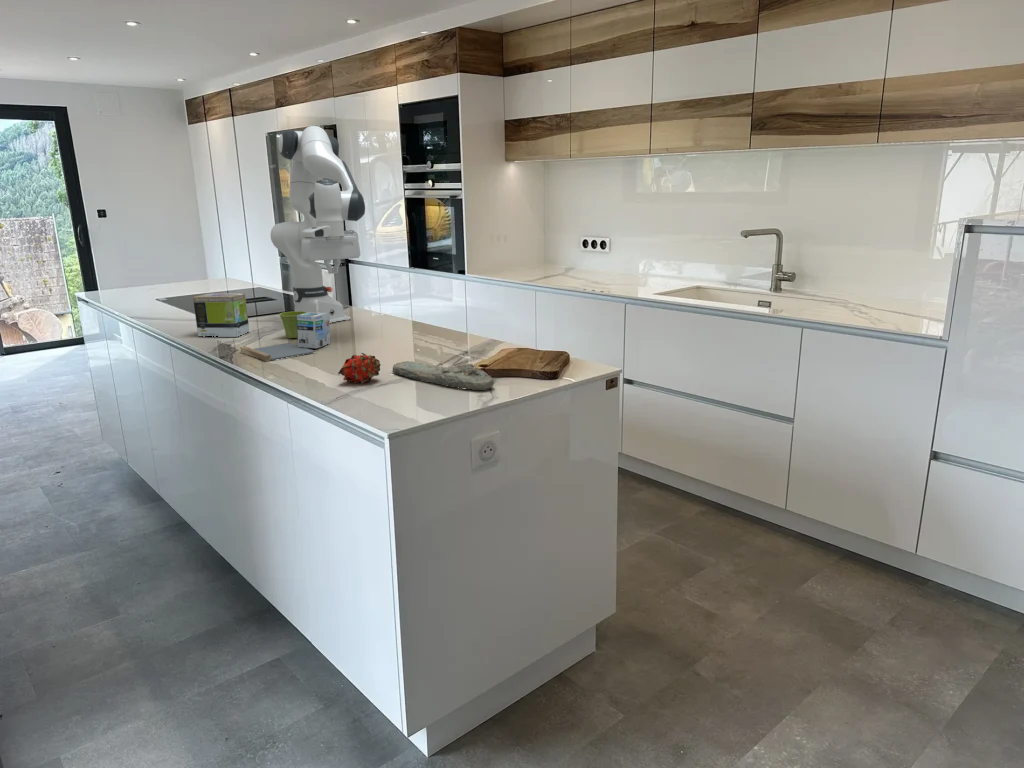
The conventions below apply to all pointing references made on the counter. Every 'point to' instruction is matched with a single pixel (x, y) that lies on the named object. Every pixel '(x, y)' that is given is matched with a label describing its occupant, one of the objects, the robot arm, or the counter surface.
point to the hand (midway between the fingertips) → (333, 273)
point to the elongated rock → (446, 375)
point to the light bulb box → (313, 329)
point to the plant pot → (291, 323)
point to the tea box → (221, 314)
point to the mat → (284, 350)
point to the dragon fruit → (360, 368)
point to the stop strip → (256, 353)
